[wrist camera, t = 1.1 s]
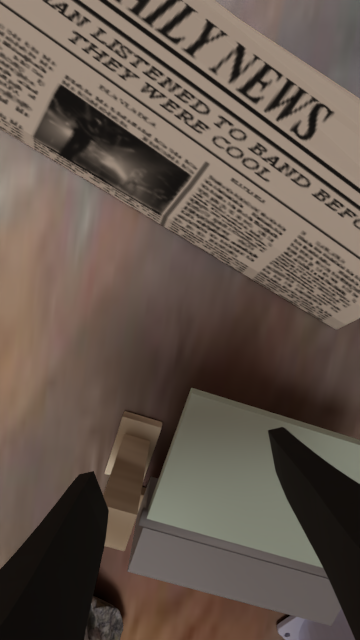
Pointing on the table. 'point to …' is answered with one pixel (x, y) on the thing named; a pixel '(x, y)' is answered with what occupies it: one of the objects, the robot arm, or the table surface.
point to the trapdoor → (236, 511)
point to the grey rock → (103, 621)
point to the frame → (128, 475)
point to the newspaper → (196, 134)
